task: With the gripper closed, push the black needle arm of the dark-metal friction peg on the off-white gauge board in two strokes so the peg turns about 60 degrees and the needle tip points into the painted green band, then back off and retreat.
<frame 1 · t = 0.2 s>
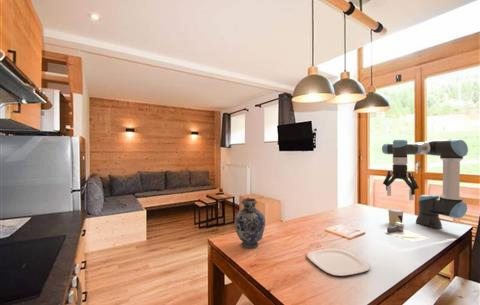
hand: (399, 197, 141), 27 cm above the table, fingers open, 13 cm apart
peg: (395, 227, 153), point 4 cm above the table, hinge at 0.0°
gauge board: (403, 236, 149), on the table
plate: (336, 263, 115), on the table
decorative vase: (249, 245, 137), on the table
coffee cup: (395, 226, 169), on the table
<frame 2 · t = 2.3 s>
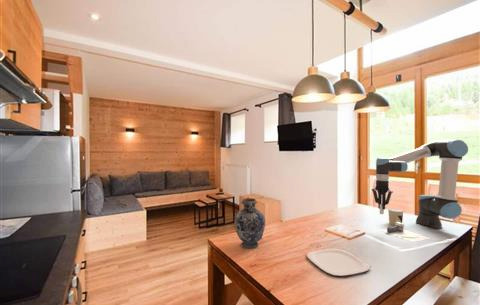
hand: (381, 213, 157), 13 cm above the table, fingers closed
nothing on the table moved.
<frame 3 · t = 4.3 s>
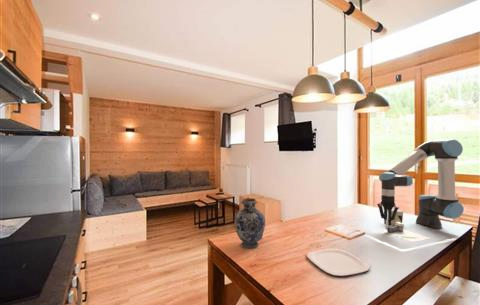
hand: (387, 229, 153), 3 cm above the table, fingers closed
peg: (395, 227, 153), point 4 cm above the table, hinge at 1.4°, touching gripper
everything else where it was.
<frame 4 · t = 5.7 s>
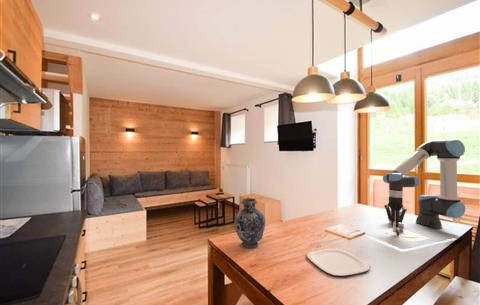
hand: (395, 231, 148), 3 cm above the table, fingers closed
peg: (398, 228, 151), point 4 cm above the table, hinge at 30.4°, touching gripper
everything else where it was.
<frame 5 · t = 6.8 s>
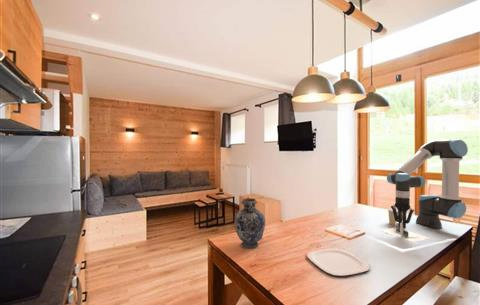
hand: (402, 232, 146), 3 cm above the table, fingers closed
peg: (402, 228, 150), point 4 cm above the table, hinge at 56.1°, touching gripper
everything else where it was.
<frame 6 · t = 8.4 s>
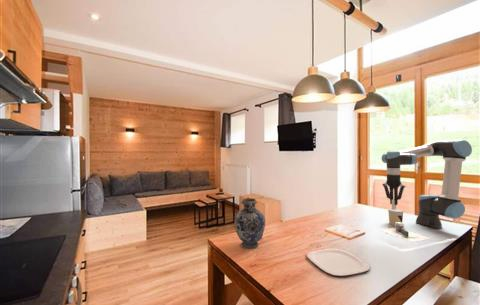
hand: (393, 209, 149), 18 cm above the table, fingers closed
peg: (402, 228, 150), point 4 cm above the table, hinge at 56.4°
everything else where it was.
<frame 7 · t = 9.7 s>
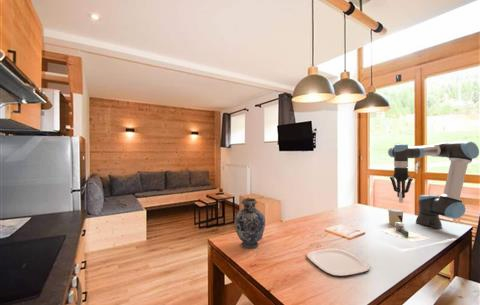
hand: (401, 202, 150), 22 cm above the table, fingers closed
nothing on the table moved.
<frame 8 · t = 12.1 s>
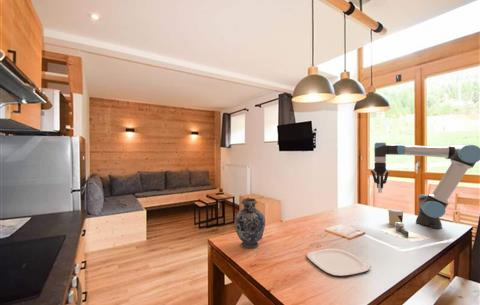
hand: (380, 192, 174), 24 cm above the table, fingers closed
nothing on the table moved.
at the end: peg at +56° (first picture: +0°); coffee cup moved 0.2 cm from its start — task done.
